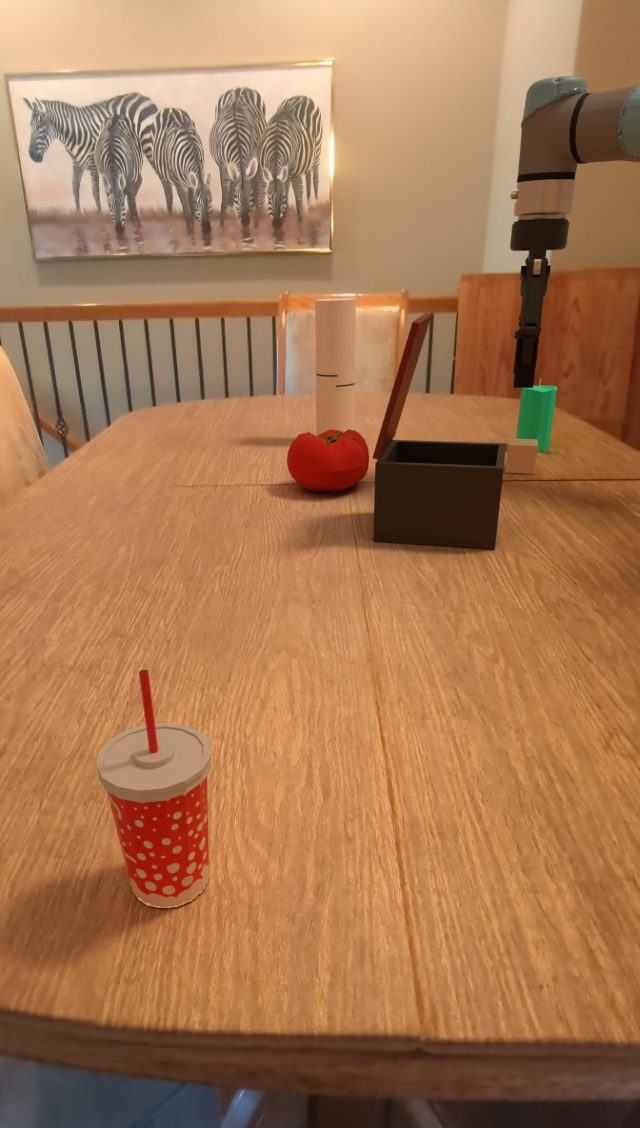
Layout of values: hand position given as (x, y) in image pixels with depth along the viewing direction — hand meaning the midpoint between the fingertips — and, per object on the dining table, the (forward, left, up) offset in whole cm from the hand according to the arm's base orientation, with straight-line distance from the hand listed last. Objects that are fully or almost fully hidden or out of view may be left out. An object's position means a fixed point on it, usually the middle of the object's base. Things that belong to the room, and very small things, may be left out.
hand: (522, 380), depth 113 cm
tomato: (+27, +12, -15) cm, 33 cm away
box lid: (+14, +28, +3) cm, 32 cm away
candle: (-3, -20, -15) cm, 25 cm away
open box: (+9, +28, -14) cm, 33 cm away
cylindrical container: (+33, -19, -15) cm, 41 cm away
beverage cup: (+18, +94, -15) cm, 97 cm away
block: (-1, -4, -14) cm, 15 cm away
